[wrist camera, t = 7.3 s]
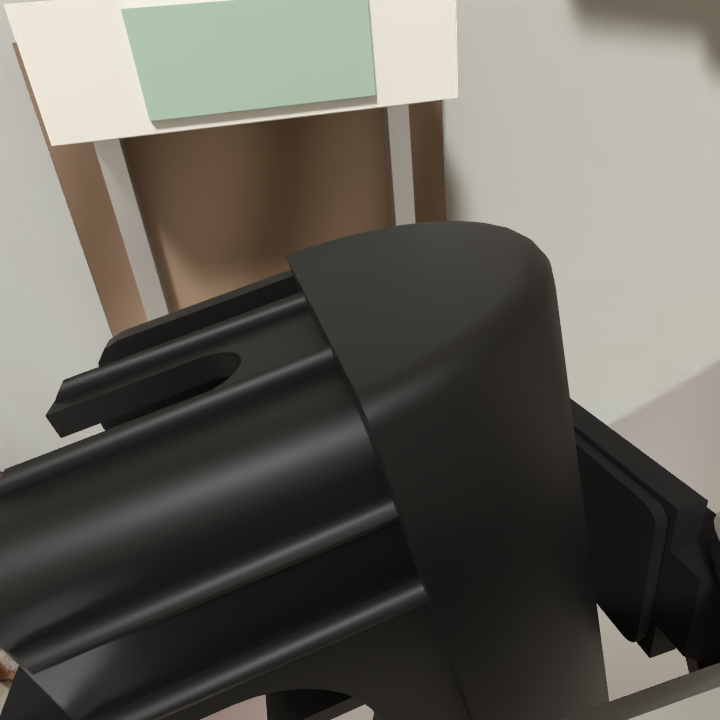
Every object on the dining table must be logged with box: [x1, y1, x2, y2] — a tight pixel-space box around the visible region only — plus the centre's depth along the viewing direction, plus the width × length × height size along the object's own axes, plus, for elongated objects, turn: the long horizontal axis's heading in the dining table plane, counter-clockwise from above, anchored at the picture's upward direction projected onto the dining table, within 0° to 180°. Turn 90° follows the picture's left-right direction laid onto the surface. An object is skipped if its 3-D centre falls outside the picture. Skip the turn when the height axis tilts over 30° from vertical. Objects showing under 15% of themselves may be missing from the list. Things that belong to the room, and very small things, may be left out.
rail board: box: [12, 43, 446, 337], centre depth 22 cm, size 14×20×1 cm
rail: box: [93, 105, 415, 321], centre depth 21 cm, size 11×20×1 cm, turn 7°
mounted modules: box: [4, 0, 458, 146], centre depth 19 cm, size 11×20×5 cm, turn 7°
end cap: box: [0, 221, 609, 720], centre depth 9 cm, size 10×7×7 cm
